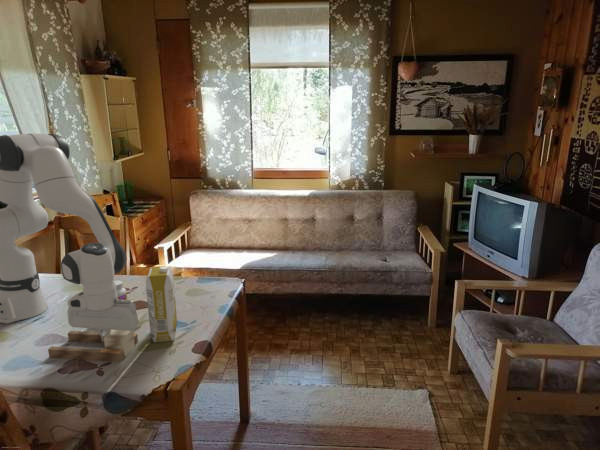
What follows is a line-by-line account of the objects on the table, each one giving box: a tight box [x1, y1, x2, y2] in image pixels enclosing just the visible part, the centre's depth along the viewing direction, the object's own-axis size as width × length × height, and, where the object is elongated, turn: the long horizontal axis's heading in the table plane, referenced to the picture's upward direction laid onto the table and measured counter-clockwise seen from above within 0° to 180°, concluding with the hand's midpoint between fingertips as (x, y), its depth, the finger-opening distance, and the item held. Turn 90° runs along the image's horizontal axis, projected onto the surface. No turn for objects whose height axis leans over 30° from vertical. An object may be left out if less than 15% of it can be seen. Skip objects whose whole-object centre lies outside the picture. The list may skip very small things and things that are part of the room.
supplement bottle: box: [114, 280, 128, 300], centre depth 155 cm, size 7×7×13 cm
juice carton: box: [145, 265, 178, 343], centre depth 139 cm, size 9×8×24 cm
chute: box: [47, 330, 139, 363], centre depth 132 cm, size 22×11×4 cm, turn 84°
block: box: [103, 329, 136, 358], centre depth 131 cm, size 6×6×6 cm
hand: (106, 340), depth 131 cm, fingers closed
